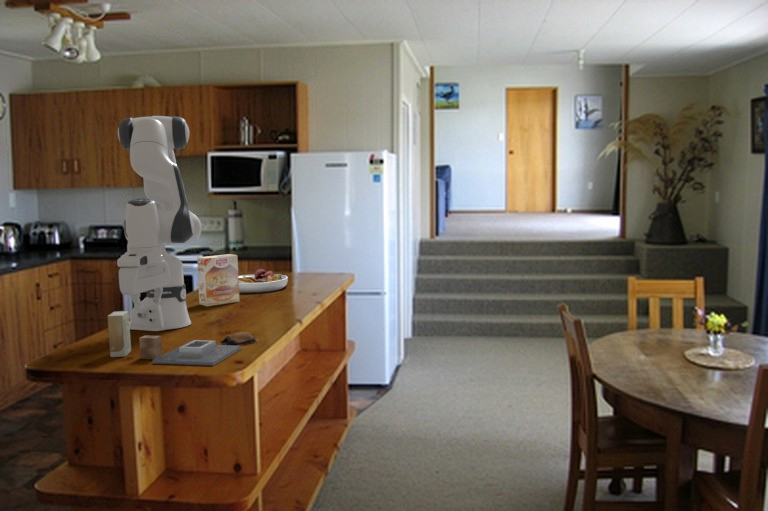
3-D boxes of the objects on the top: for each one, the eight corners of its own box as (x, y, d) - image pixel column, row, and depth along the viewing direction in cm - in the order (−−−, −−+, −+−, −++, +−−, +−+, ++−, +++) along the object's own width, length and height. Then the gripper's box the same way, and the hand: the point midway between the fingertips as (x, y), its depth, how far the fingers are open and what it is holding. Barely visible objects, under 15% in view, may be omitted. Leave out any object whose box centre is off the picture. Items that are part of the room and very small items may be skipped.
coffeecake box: (206, 306, 268) (204, 258, 265) (198, 304, 273) (196, 257, 271) (240, 301, 277) (238, 254, 275) (231, 299, 283) (229, 253, 281)
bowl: (282, 293, 296) (281, 276, 295) (214, 295, 297) (213, 277, 296) (292, 283, 326) (291, 267, 325) (231, 284, 326) (230, 268, 325)
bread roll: (250, 339, 213) (250, 327, 213) (261, 343, 206) (260, 332, 206) (218, 344, 207) (217, 332, 207) (227, 349, 200) (227, 336, 200)
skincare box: (116, 352, 198) (113, 311, 196) (131, 351, 198) (129, 310, 197) (109, 357, 191) (106, 315, 190) (125, 357, 192) (122, 314, 190)
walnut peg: (140, 358, 190) (139, 337, 189) (146, 355, 193) (145, 335, 192) (156, 359, 189) (155, 338, 188) (162, 356, 192) (160, 335, 191)
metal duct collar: (152, 363, 184) (151, 351, 184) (185, 347, 201) (184, 335, 201) (213, 365, 180) (212, 353, 180) (241, 349, 198) (240, 337, 197)
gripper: (154, 253, 198) (157, 299, 199) (113, 261, 178) (116, 312, 179) (174, 253, 197) (177, 299, 198) (134, 260, 177) (138, 312, 178)
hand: (148, 306), depth 189 cm, fingers open, 8 cm apart
